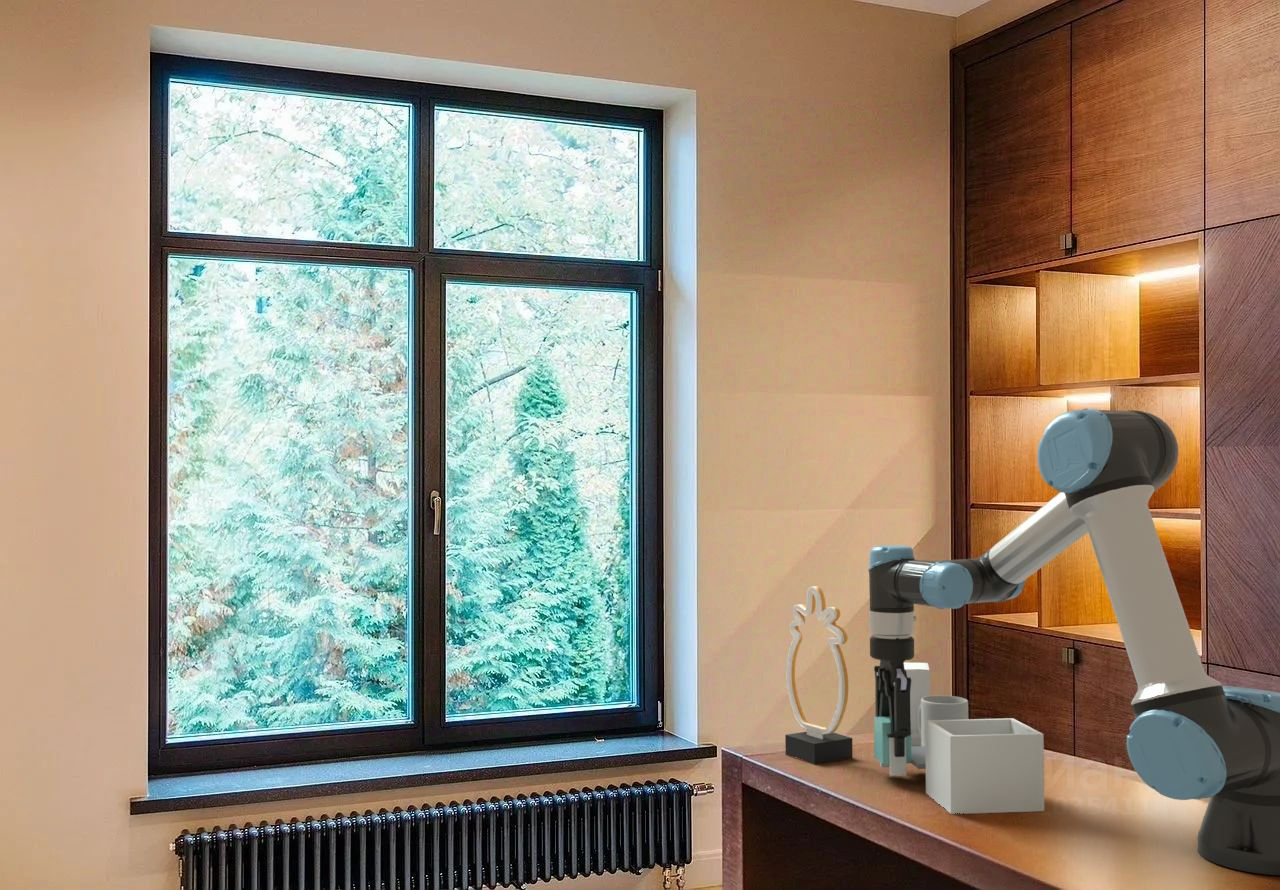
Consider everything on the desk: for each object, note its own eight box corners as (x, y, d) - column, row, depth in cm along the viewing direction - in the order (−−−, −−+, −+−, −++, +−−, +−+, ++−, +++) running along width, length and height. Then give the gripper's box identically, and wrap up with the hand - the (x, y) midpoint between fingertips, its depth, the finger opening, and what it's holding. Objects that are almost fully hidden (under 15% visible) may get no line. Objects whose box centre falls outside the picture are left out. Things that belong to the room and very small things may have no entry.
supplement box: (931, 748, 233) (930, 669, 233) (883, 746, 234) (882, 668, 235) (929, 737, 242) (929, 662, 242) (883, 735, 243) (883, 660, 244)
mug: (978, 762, 221) (978, 701, 222) (940, 766, 218) (939, 705, 218) (938, 748, 232) (937, 690, 233) (900, 752, 229) (900, 694, 229)
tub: (1044, 811, 190) (1043, 734, 190) (950, 814, 188) (950, 736, 189) (1013, 790, 202) (1013, 718, 202) (925, 793, 200) (925, 720, 201)
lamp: (867, 762, 221) (865, 588, 222) (828, 769, 217) (827, 591, 217) (809, 744, 236) (808, 581, 236) (772, 750, 231) (771, 583, 232)
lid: (1008, 774, 205) (1008, 724, 205) (889, 778, 203) (888, 727, 203) (981, 756, 217) (980, 709, 217) (868, 759, 215) (868, 712, 215)
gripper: (930, 642, 201) (931, 783, 201) (897, 628, 219) (898, 757, 218) (885, 643, 200) (886, 785, 200) (856, 628, 218) (857, 758, 218)
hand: (892, 770), depth 209 cm, fingers closed on lid, 5 cm apart
